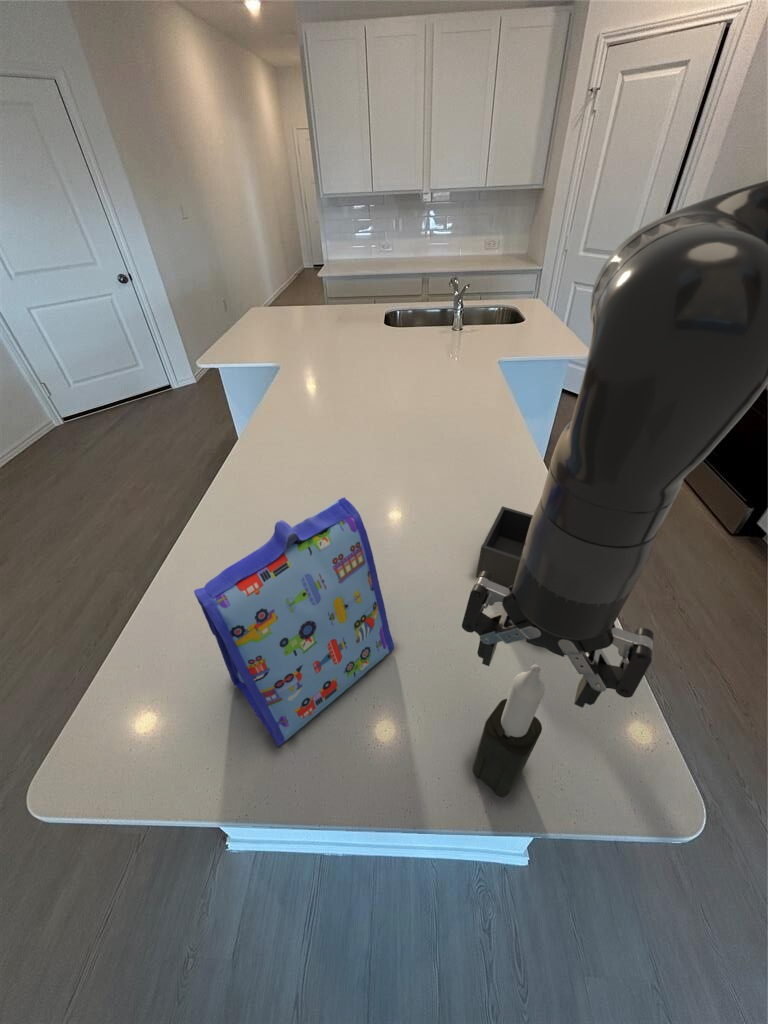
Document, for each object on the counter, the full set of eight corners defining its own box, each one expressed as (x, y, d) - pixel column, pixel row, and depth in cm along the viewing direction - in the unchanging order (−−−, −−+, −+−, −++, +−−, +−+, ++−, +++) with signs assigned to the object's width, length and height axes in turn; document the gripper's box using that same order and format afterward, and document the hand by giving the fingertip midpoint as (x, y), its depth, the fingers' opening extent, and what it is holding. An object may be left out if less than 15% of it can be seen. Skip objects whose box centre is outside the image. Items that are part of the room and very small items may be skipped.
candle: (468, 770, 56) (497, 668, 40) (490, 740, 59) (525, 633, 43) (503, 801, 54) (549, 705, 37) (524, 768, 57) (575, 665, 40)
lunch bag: (342, 602, 77) (324, 467, 59) (396, 652, 70) (395, 515, 51) (231, 683, 66) (164, 549, 48) (280, 753, 59) (224, 625, 40)
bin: (558, 555, 85) (569, 525, 80) (544, 601, 76) (554, 571, 71) (496, 535, 89) (502, 506, 84) (475, 576, 81) (481, 547, 76)
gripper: (463, 559, 31) (446, 677, 41) (694, 640, 26) (608, 752, 36) (496, 499, 36) (473, 618, 46) (695, 557, 31) (618, 676, 41)
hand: (532, 677), depth 41 cm, fingers open, 8 cm apart
